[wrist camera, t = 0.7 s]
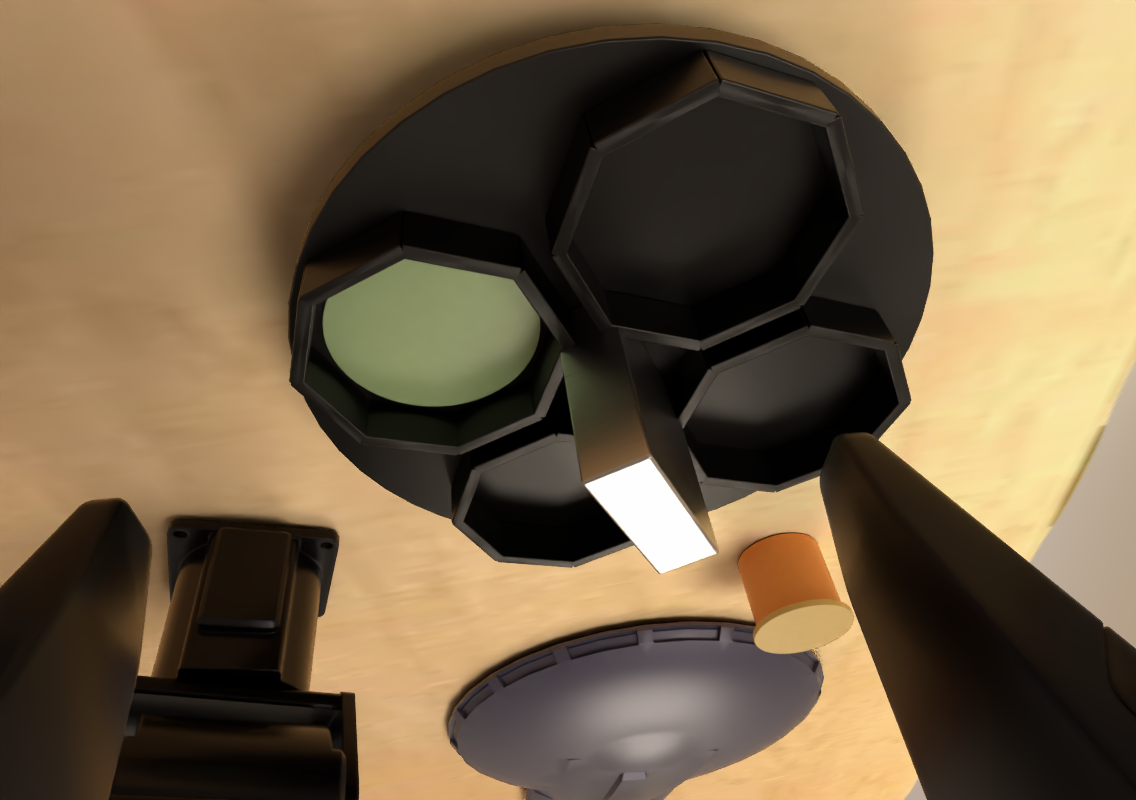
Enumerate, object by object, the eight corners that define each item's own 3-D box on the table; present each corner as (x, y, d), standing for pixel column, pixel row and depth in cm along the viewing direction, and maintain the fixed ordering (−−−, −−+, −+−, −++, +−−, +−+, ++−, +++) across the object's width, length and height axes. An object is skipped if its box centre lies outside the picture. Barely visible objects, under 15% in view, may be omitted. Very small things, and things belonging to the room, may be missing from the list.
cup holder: (740, 538, 33) (789, 693, 29) (271, 494, 28) (237, 679, 23) (1066, 137, 21) (1249, 297, 16) (330, -99, 15) (283, 44, 10)
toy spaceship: (734, 783, 64) (744, 826, 61) (437, 805, 59) (437, 852, 57) (886, 610, 44) (910, 665, 42) (460, 623, 39) (461, 685, 37)
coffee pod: (793, 583, 40) (820, 655, 38) (715, 577, 39) (736, 652, 36) (842, 533, 37) (874, 608, 35) (759, 524, 36) (786, 602, 33)
